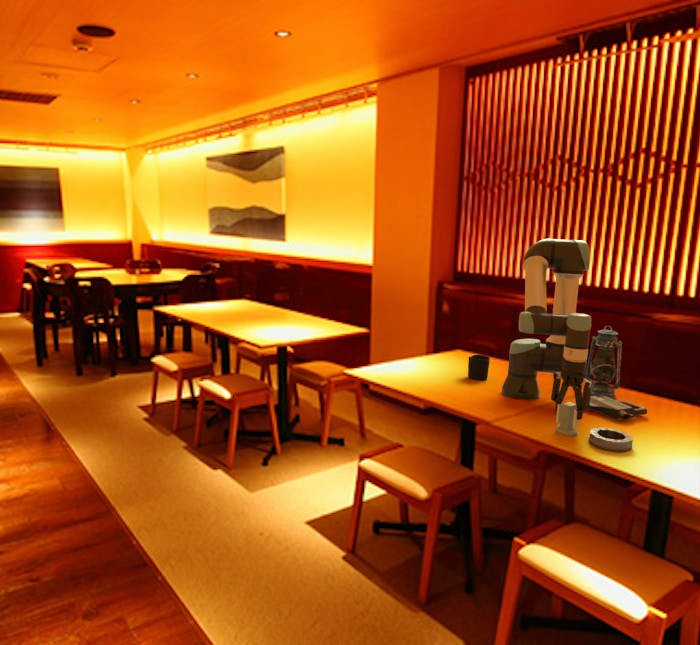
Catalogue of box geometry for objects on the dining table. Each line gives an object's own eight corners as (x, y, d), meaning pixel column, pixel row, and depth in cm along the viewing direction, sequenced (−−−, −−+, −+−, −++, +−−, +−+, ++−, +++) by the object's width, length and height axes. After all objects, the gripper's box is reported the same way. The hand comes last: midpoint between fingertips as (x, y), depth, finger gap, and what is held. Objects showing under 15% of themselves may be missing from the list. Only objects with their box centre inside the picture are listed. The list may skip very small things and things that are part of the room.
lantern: (575, 392, 240) (583, 323, 235) (592, 388, 247) (600, 321, 241) (608, 402, 227) (617, 330, 222) (625, 398, 234) (634, 328, 229)
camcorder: (626, 425, 202) (628, 411, 201) (574, 408, 218) (576, 396, 217) (648, 417, 212) (650, 404, 211) (597, 402, 228) (598, 390, 227)
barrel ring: (580, 441, 185) (581, 432, 184) (602, 434, 192) (603, 424, 192) (618, 455, 174) (619, 445, 174) (639, 447, 182) (641, 437, 181)
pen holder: (491, 381, 252) (493, 359, 250) (471, 381, 251) (472, 359, 249) (483, 375, 261) (485, 354, 260) (464, 375, 260) (465, 354, 258)
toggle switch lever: (551, 430, 193) (554, 402, 191) (563, 427, 197) (566, 399, 196) (569, 437, 188) (572, 408, 186) (581, 433, 192) (584, 405, 190)
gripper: (543, 354, 193) (537, 418, 197) (594, 367, 178) (586, 436, 182) (556, 352, 197) (550, 415, 202) (607, 364, 183) (598, 431, 187)
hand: (567, 424), depth 192 cm, fingers open, 6 cm apart
